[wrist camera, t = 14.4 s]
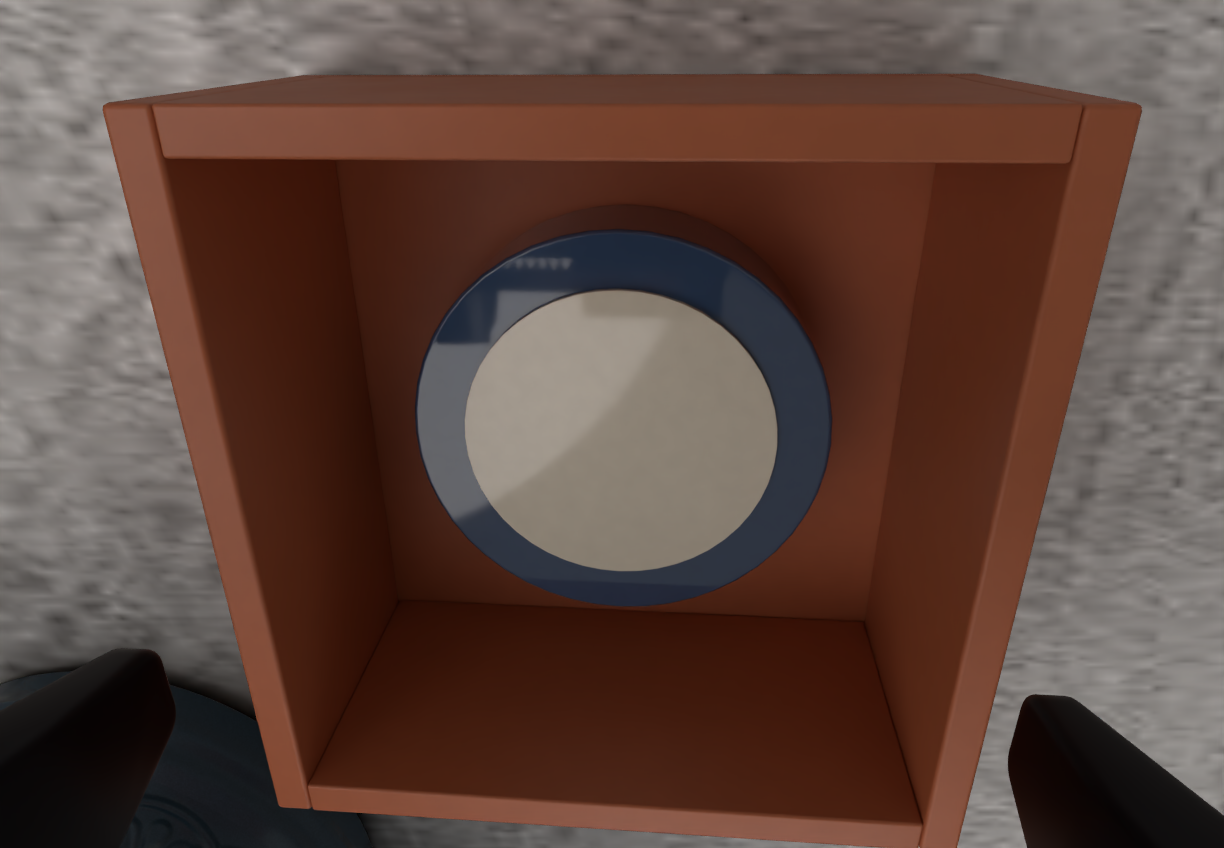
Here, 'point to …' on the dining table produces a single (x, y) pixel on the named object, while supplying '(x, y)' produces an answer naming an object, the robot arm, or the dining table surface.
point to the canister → (216, 785)
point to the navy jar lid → (625, 408)
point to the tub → (600, 634)
